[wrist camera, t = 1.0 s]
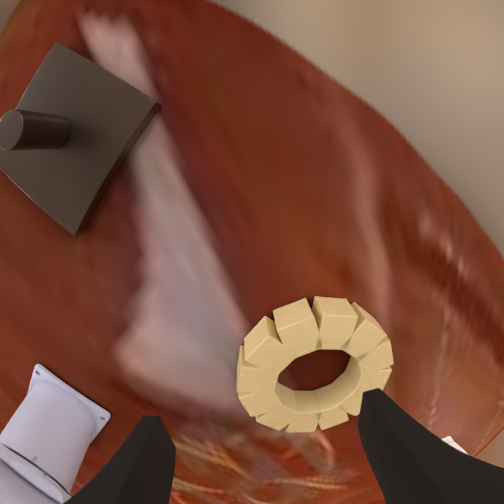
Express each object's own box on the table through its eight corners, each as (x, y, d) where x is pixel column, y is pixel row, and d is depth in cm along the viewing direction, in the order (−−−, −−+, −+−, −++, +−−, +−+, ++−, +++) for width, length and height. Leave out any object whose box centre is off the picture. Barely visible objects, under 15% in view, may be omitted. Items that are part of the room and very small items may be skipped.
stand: (83, 232, 16) (31, 262, 11) (2, 160, 15) (-54, 168, 9) (162, 105, 15) (125, 82, 9) (65, 46, 13) (15, 20, 7)
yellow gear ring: (312, 424, 22) (317, 445, 20) (208, 374, 20) (206, 397, 18) (403, 342, 20) (417, 359, 18) (308, 265, 18) (317, 281, 15)
